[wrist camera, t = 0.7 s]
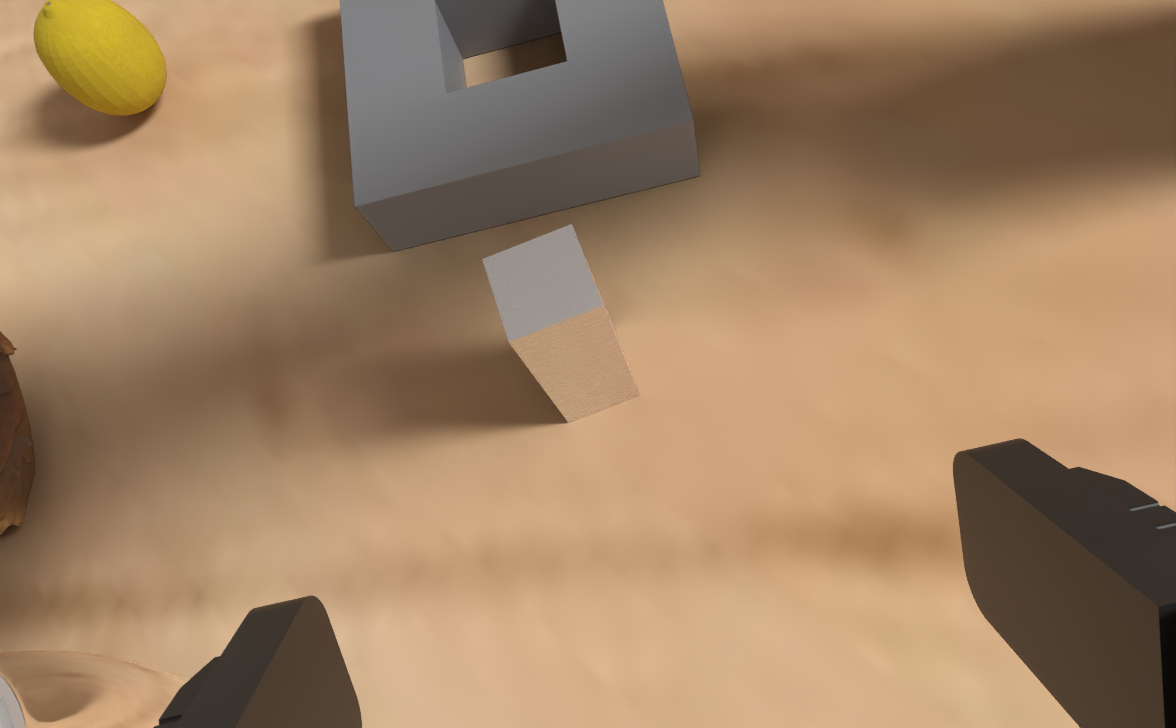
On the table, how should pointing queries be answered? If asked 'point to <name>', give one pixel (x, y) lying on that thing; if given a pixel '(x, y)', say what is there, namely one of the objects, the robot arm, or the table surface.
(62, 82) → the lemon
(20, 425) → the bird sculpture
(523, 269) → the steel bar
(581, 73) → the well block
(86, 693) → the beer glass
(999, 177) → the table surface
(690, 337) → the table surface
